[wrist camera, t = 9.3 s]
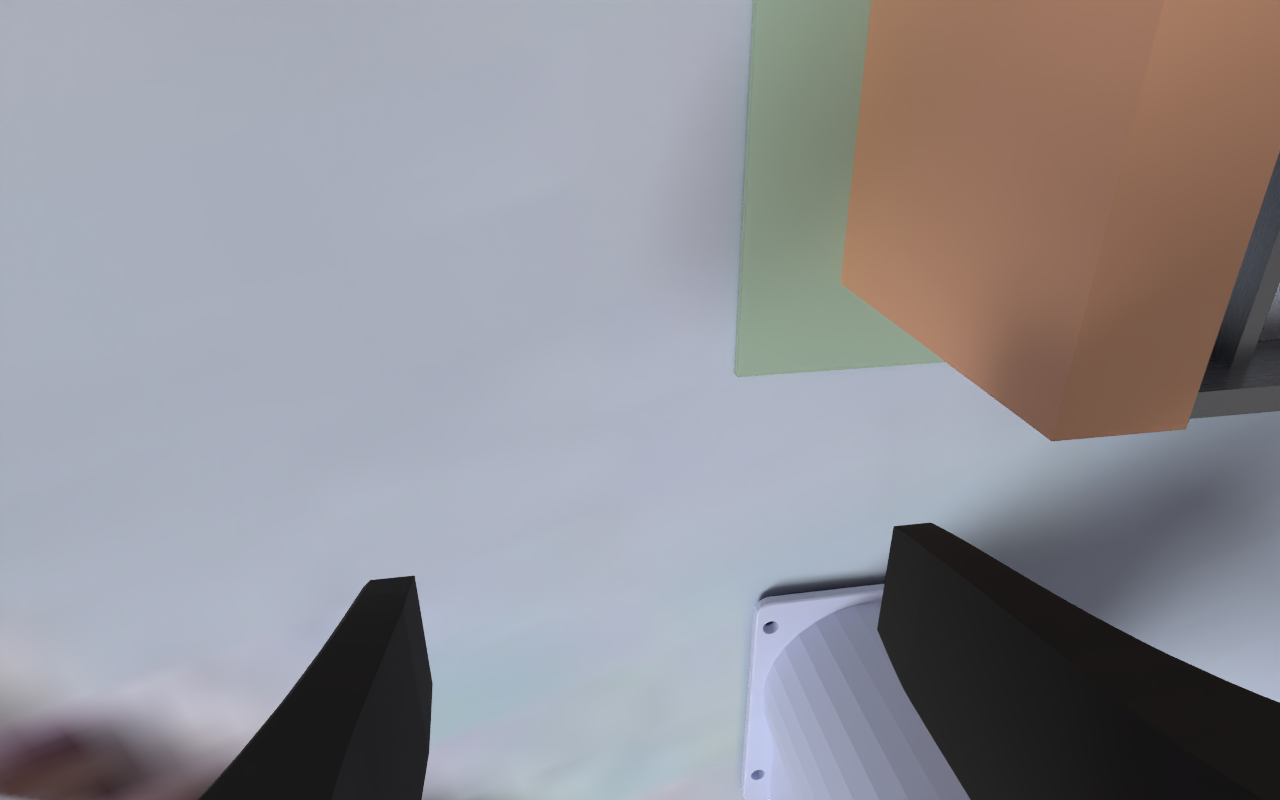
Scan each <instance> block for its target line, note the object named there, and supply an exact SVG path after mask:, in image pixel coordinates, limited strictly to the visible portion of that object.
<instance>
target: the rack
mask: <svg viewBox="0 0 1280 800" xmlns="http://www.w3.org/2000/svg"><path fill="white" fill-rule="evenodd" d="M1279 282H1280V152H1279V155H1278V158H1277V161H1276V164H1275V167H1274V170H1273V173H1272V176H1271V178H1270V181H1269V184H1268V187H1267V190H1266V193H1265V196H1264V199H1263V202H1262V205H1261V208H1260V211H1259V214H1258V217H1257V220H1256V223H1255V226H1254V229H1253V232H1252V235H1251V238H1250V241H1249V244H1248V247H1247V249H1246V252H1245V255H1244V258H1243V261H1242V264H1241V267H1240V270H1239V273H1238V276H1237V279H1236V282H1235V285H1234V288H1233V291H1232V294H1231V297H1230V300H1229V303H1228V306H1227V309H1226V312H1225V315H1224V318H1223V320H1222V323H1221V326H1220V329H1219V332H1218V335H1217V338H1216V341H1215V344H1214V347H1213V350H1212V353H1211V356H1210V359H1209V362H1208V365H1207V368H1206V371H1205V374H1204V377H1203V380H1202V383H1201V386H1200V389H1199V391H1198V394H1197V397H1196V400H1195V403H1194V406H1193V409H1192V412H1191V415H1190V418H1189V419H1191V418H1203V417H1214V416H1226V415H1237V414H1249V413H1260V412H1272V411H1280V340H1271V341H1258V340H1259V337H1260V334H1261V331H1262V329H1263V326H1264V323H1265V320H1266V318H1267V315H1268V312H1269V309H1270V307H1271V304H1272V301H1273V298H1274V296H1275V293H1276V290H1277V287H1278V285H1279Z"/></svg>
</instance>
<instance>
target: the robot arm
mask: <svg viewBox="0 0 1280 800" xmlns="http://www.w3.org/2000/svg"><path fill="white" fill-rule="evenodd" d="M771 621H773V623H771V624H770V625H767V626H764V625H765V624H766V623H768V622H771ZM431 703H432V679H431V672H430V666H429V660H428V654H427V648H426V642H425V636H424V630H423V624H422V618H421V612H420V606H419V600H418V594H417V588H416V582H415V576H407V577H397V578H388V579H378V580H370V581H369V582H368V583H367V584H366V585H365V586H364V587H363V589H362V590H361V592H360V593H359V595H358V596H357V598H356V599H355V601H354V602H353V604H352V605H351V607H350V608H349V610H348V611H347V613H346V614H345V616H344V617H343V619H342V620H341V622H340V623H339V625H338V626H337V628H336V629H335V631H334V632H333V633H332V635H331V636H330V638H329V639H328V641H327V642H326V643H325V645H324V646H323V648H322V649H321V651H320V652H319V653H318V655H317V656H316V657H315V659H314V660H313V661H312V663H311V664H310V666H309V667H308V668H307V670H306V671H305V672H304V674H303V675H302V676H301V678H300V679H299V680H298V682H297V683H296V684H295V686H294V687H293V688H292V690H291V691H290V692H289V694H288V695H287V696H286V698H285V699H284V700H283V701H282V703H281V704H280V705H279V706H278V708H277V709H276V710H275V711H274V713H273V714H272V715H271V716H270V717H269V719H268V720H267V721H266V722H265V723H264V725H263V726H262V727H261V728H260V729H259V731H258V732H257V733H256V734H255V736H254V737H253V738H252V739H251V740H250V742H249V743H248V744H247V745H246V746H245V748H244V749H243V750H242V751H241V752H240V754H239V755H238V756H237V757H236V758H235V759H234V760H233V762H232V763H231V764H230V765H229V766H228V767H227V768H226V769H225V771H224V772H223V773H222V774H221V775H220V776H219V777H218V778H217V780H216V781H215V782H214V783H213V784H212V785H211V786H210V787H209V788H208V789H207V790H206V791H205V793H204V794H203V795H202V796H201V797H200V798H199V799H198V800H421V798H422V792H423V786H424V780H425V774H426V768H427V761H428V755H429V741H430V724H431ZM741 790H742V793H743V797H744V798H745V799H746V800H769V799H771V800H1280V703H1279V702H1276V701H1274V700H1271V699H1269V698H1266V697H1264V696H1261V695H1259V694H1256V693H1254V692H1251V691H1249V690H1247V689H1244V688H1242V687H1240V686H1237V685H1235V684H1232V683H1230V682H1228V681H1225V680H1223V679H1221V678H1219V677H1217V676H1214V675H1212V674H1210V673H1208V672H1206V671H1203V670H1201V669H1199V668H1197V667H1195V666H1192V665H1190V664H1188V663H1186V662H1184V661H1181V660H1179V659H1177V658H1175V657H1173V656H1170V655H1168V654H1166V653H1164V652H1162V651H1160V650H1158V649H1156V648H1154V647H1152V646H1150V645H1148V644H1146V643H1144V642H1142V641H1140V640H1138V639H1136V638H1134V637H1132V636H1130V635H1129V634H1127V633H1125V632H1123V631H1121V630H1119V629H1117V628H1115V627H1113V626H1111V625H1110V624H1108V623H1106V622H1104V621H1102V620H1100V619H1098V618H1096V617H1094V616H1093V615H1091V614H1089V613H1087V612H1085V611H1084V610H1082V609H1080V608H1078V607H1076V606H1075V605H1073V604H1071V603H1069V602H1067V601H1066V600H1064V599H1062V598H1060V597H1059V596H1057V595H1055V594H1053V593H1052V592H1050V591H1048V590H1047V589H1045V588H1043V587H1041V586H1040V585H1038V584H1036V583H1035V582H1033V581H1031V580H1029V579H1028V578H1026V577H1024V576H1023V575H1021V574H1019V573H1018V572H1016V571H1014V570H1013V569H1011V568H1009V567H1008V566H1006V565H1004V564H1003V563H1001V562H999V561H998V560H996V559H994V558H993V557H991V556H989V555H988V554H986V553H984V552H982V551H981V550H979V549H977V548H976V547H974V546H972V545H971V544H969V543H967V542H966V541H964V540H962V539H960V538H959V537H957V536H955V535H953V534H952V533H950V532H948V531H946V530H944V529H942V528H940V527H938V526H936V525H935V524H933V523H923V524H913V525H903V526H894V529H893V535H892V541H891V547H890V553H889V559H888V565H887V571H886V577H885V584H877V585H868V586H859V587H851V588H842V589H833V590H824V591H815V592H807V593H798V594H789V595H780V596H771V597H767V598H763V599H762V600H760V601H759V602H758V603H757V604H756V605H755V608H754V614H753V628H752V642H751V655H750V669H749V682H748V696H747V710H746V723H745V737H744V751H743V764H742V778H741Z"/></svg>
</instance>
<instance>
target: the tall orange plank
mask: <svg viewBox="0 0 1280 800" xmlns="http://www.w3.org/2000/svg"><path fill="white" fill-rule="evenodd" d="M1279 152H1280V0H871V8H870V17H869V26H868V36H867V45H866V54H865V63H864V72H863V81H862V91H861V100H860V109H859V118H858V127H857V136H856V145H855V155H854V164H853V173H852V182H851V191H850V200H849V210H848V219H847V228H846V237H845V246H844V255H843V265H842V274H841V284H842V285H843V286H845V287H846V288H847V289H849V290H850V291H851V292H853V293H854V294H855V295H857V296H858V297H860V298H861V299H862V300H864V301H865V302H866V303H868V304H869V305H870V306H872V307H873V308H874V309H876V310H877V311H878V312H880V313H881V314H882V315H884V316H885V317H886V318H888V319H889V320H890V321H892V322H893V323H894V324H896V325H897V326H898V327H900V328H901V329H902V330H904V331H905V332H906V333H908V334H909V335H910V336H912V337H913V338H914V339H916V340H917V341H918V342H920V343H921V344H922V345H924V346H925V347H926V348H928V349H929V350H930V351H932V352H933V353H934V354H936V355H937V356H938V357H940V358H941V359H942V360H944V361H945V362H946V363H948V364H949V365H950V366H952V367H953V368H954V369H956V370H957V371H959V372H960V373H961V374H963V375H964V376H965V377H967V378H968V379H969V380H971V381H972V382H973V383H975V384H976V385H977V386H979V387H980V388H981V389H983V390H984V391H985V392H987V393H988V394H989V395H991V396H992V397H993V398H995V399H996V400H997V401H999V402H1000V403H1001V404H1003V405H1004V406H1005V407H1007V408H1008V409H1009V410H1011V411H1012V412H1013V413H1015V414H1016V415H1017V416H1019V417H1020V418H1021V419H1023V420H1024V421H1025V422H1027V423H1028V424H1029V425H1031V426H1032V427H1033V428H1035V429H1036V430H1037V431H1039V432H1040V433H1041V434H1043V435H1044V436H1045V437H1047V438H1048V439H1049V440H1051V441H1060V440H1071V439H1082V438H1093V437H1104V436H1116V435H1127V434H1138V433H1149V432H1160V431H1171V430H1182V429H1186V427H1187V424H1188V421H1189V418H1190V415H1191V412H1192V409H1193V406H1194V403H1195V400H1196V397H1197V394H1198V391H1199V389H1200V386H1201V383H1202V380H1203V377H1204V374H1205V371H1206V368H1207V365H1208V362H1209V359H1210V356H1211V353H1212V350H1213V347H1214V344H1215V341H1216V338H1217V335H1218V332H1219V329H1220V326H1221V323H1222V320H1223V318H1224V315H1225V312H1226V309H1227V306H1228V303H1229V300H1230V297H1231V294H1232V291H1233V288H1234V285H1235V282H1236V279H1237V276H1238V273H1239V270H1240V267H1241V264H1242V261H1243V258H1244V255H1245V252H1246V249H1247V247H1248V244H1249V241H1250V238H1251V235H1252V232H1253V229H1254V226H1255V223H1256V220H1257V217H1258V214H1259V211H1260V208H1261V205H1262V202H1263V199H1264V196H1265V193H1266V190H1267V187H1268V184H1269V181H1270V178H1271V176H1272V173H1273V170H1274V167H1275V164H1276V161H1277V158H1278V155H1279Z"/></svg>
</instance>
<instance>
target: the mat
mask: <svg viewBox="0 0 1280 800" xmlns="http://www.w3.org/2000/svg"><path fill="white" fill-rule="evenodd" d="M870 8H871V0H753V16H752V36H751V55H750V75H749V95H748V114H747V134H746V154H745V173H744V193H743V213H742V232H741V252H740V272H739V291H738V311H737V330H736V350H735V370H734V373H735V375H736V376H737V377H745V376H759V375H773V374H787V373H801V372H815V371H829V370H843V369H856V368H870V367H884V366H898V365H912V364H926V363H940V362H945V361H944V360H942V359H941V358H940V357H938V356H937V355H936V354H934V353H933V352H932V351H930V350H929V349H928V348H926V347H925V346H924V345H922V344H921V343H920V342H918V341H917V340H916V339H914V338H913V337H912V336H910V335H909V334H908V333H906V332H905V331H904V330H902V329H901V328H900V327H898V326H897V325H896V324H894V323H893V322H892V321H890V320H889V319H888V318H886V317H885V316H884V315H882V314H881V313H880V312H878V311H877V310H876V309H874V308H873V307H872V306H870V305H869V304H868V303H866V302H865V301H864V300H862V299H861V298H860V297H858V296H857V295H855V294H854V293H853V292H851V291H850V290H849V289H847V288H846V287H845V286H843V285H842V284H841V274H842V265H843V255H844V246H845V237H846V228H847V219H848V210H849V200H850V191H851V182H852V173H853V164H854V155H855V145H856V136H857V127H858V118H859V109H860V100H861V91H862V81H863V72H864V63H865V54H866V45H867V36H868V26H869V17H870Z"/></svg>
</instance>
